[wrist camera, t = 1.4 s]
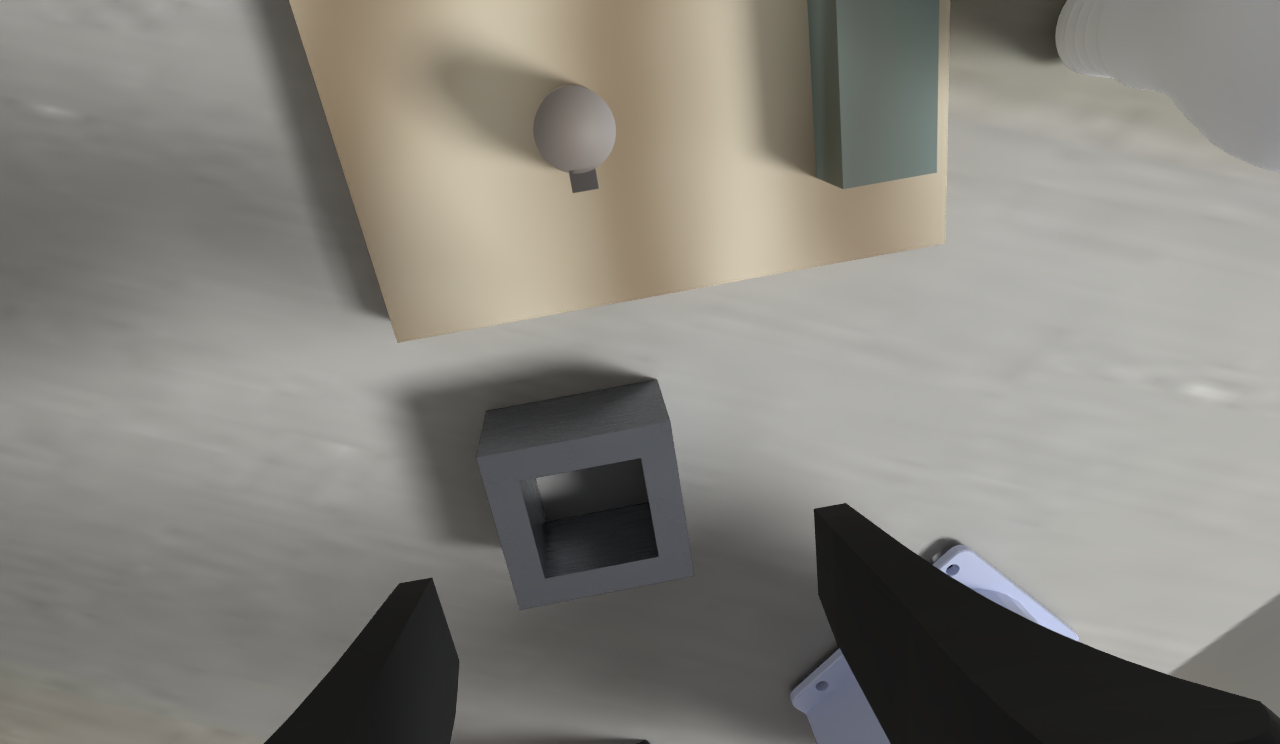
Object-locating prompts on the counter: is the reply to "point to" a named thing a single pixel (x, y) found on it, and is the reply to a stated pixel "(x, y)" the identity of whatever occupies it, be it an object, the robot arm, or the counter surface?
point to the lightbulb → (1189, 62)
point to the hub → (594, 543)
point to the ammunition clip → (644, 742)
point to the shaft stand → (626, 144)
